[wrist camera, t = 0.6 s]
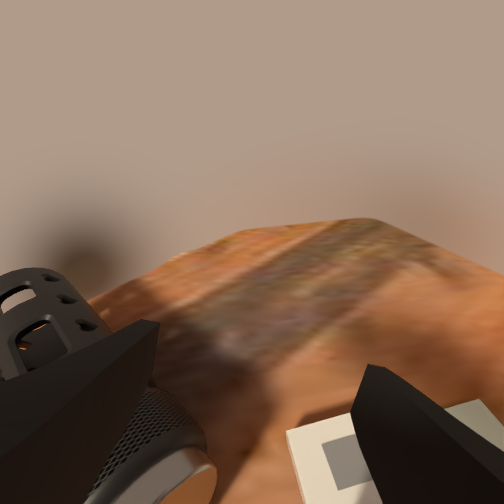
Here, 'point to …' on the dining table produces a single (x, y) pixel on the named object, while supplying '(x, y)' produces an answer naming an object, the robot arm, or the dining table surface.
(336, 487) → the socket strip
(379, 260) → the dining table surface
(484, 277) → the dining table surface
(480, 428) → the sage mat
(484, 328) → the dining table surface
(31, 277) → the muzzle brake
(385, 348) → the dining table surface
